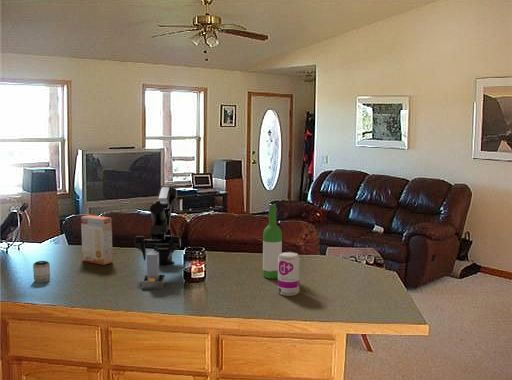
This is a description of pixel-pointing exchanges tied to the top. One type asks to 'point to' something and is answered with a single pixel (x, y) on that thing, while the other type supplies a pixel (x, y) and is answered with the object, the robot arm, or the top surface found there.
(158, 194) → the robot arm
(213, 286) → the top surface
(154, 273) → the grey rectangular prism
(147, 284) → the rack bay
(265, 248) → the wine bottle
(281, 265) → the supplement can
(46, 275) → the camera lens
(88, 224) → the cracker box
